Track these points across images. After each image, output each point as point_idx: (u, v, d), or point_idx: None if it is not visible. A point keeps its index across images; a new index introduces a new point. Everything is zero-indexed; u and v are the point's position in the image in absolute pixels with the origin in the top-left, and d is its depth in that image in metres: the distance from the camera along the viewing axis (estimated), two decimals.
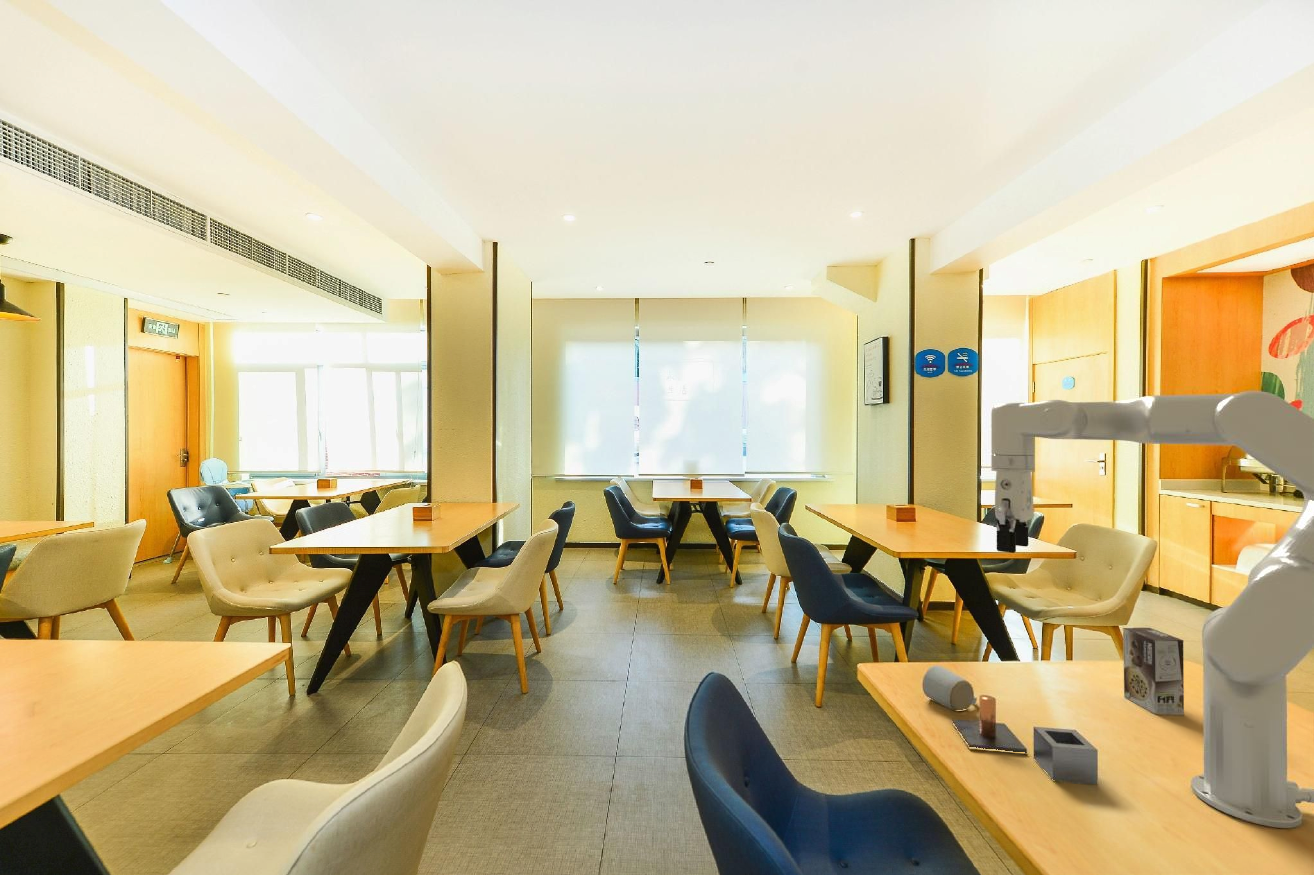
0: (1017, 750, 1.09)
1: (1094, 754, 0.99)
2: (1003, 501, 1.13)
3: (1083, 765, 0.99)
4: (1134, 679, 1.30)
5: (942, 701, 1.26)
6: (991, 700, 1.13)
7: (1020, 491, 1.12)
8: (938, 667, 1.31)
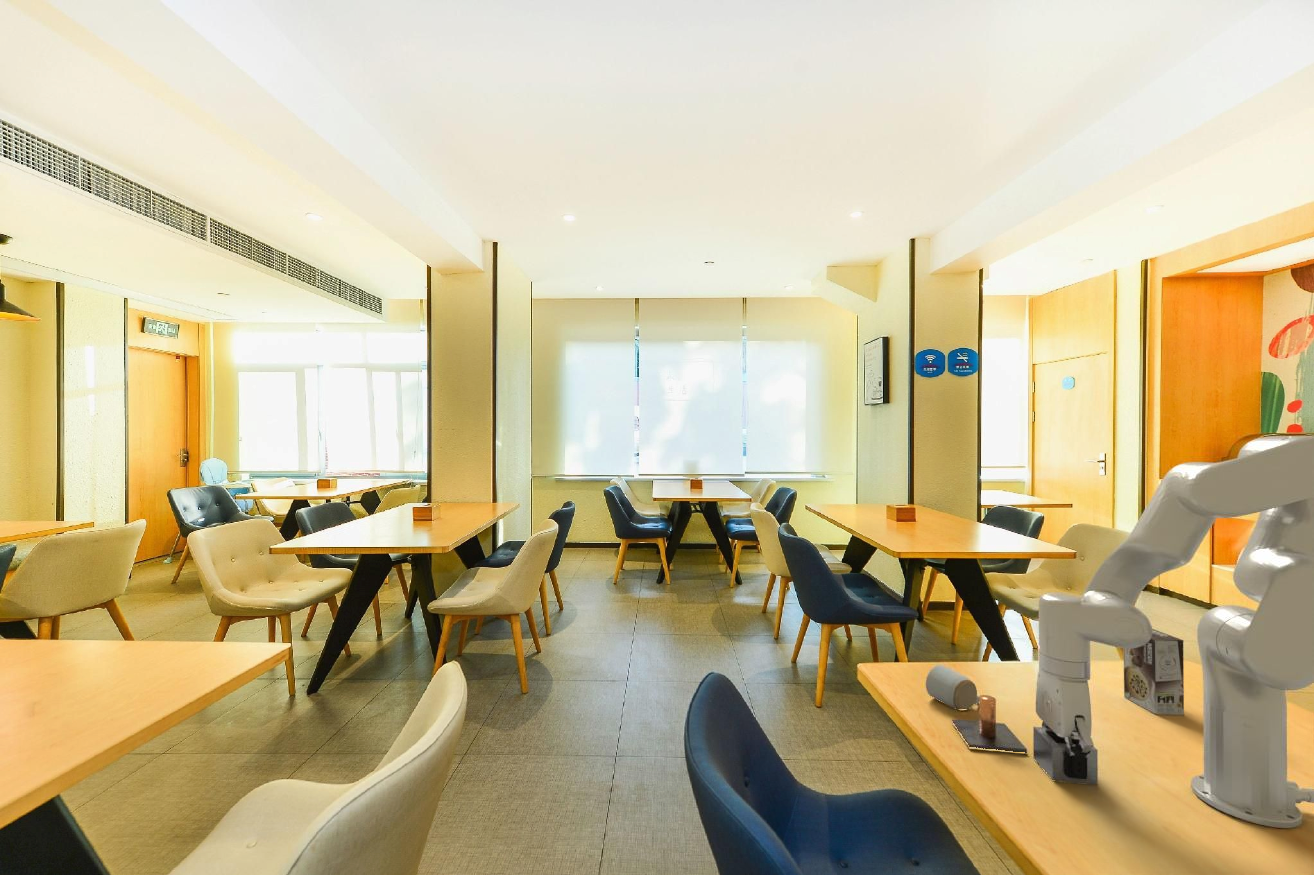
0: (1017, 750, 1.09)
1: (1094, 754, 0.99)
2: None
3: None
4: (1134, 679, 1.30)
5: (946, 700, 1.26)
6: (991, 700, 1.13)
7: None
8: (941, 666, 1.31)
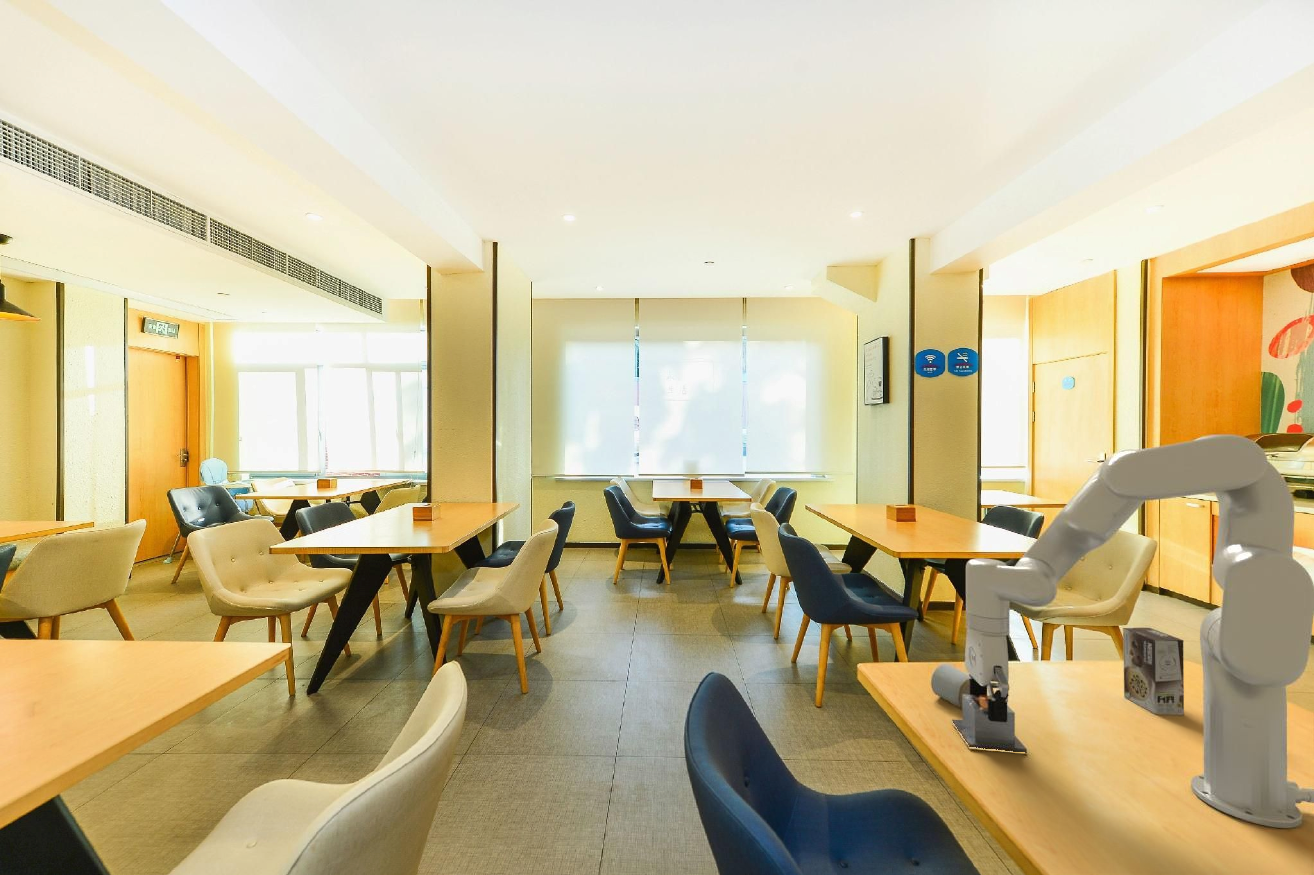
0: (1017, 750, 1.09)
1: (1011, 716, 1.10)
2: None
3: (1002, 726, 1.10)
4: (1134, 679, 1.30)
5: (951, 698, 1.27)
6: None
7: None
8: (947, 665, 1.32)
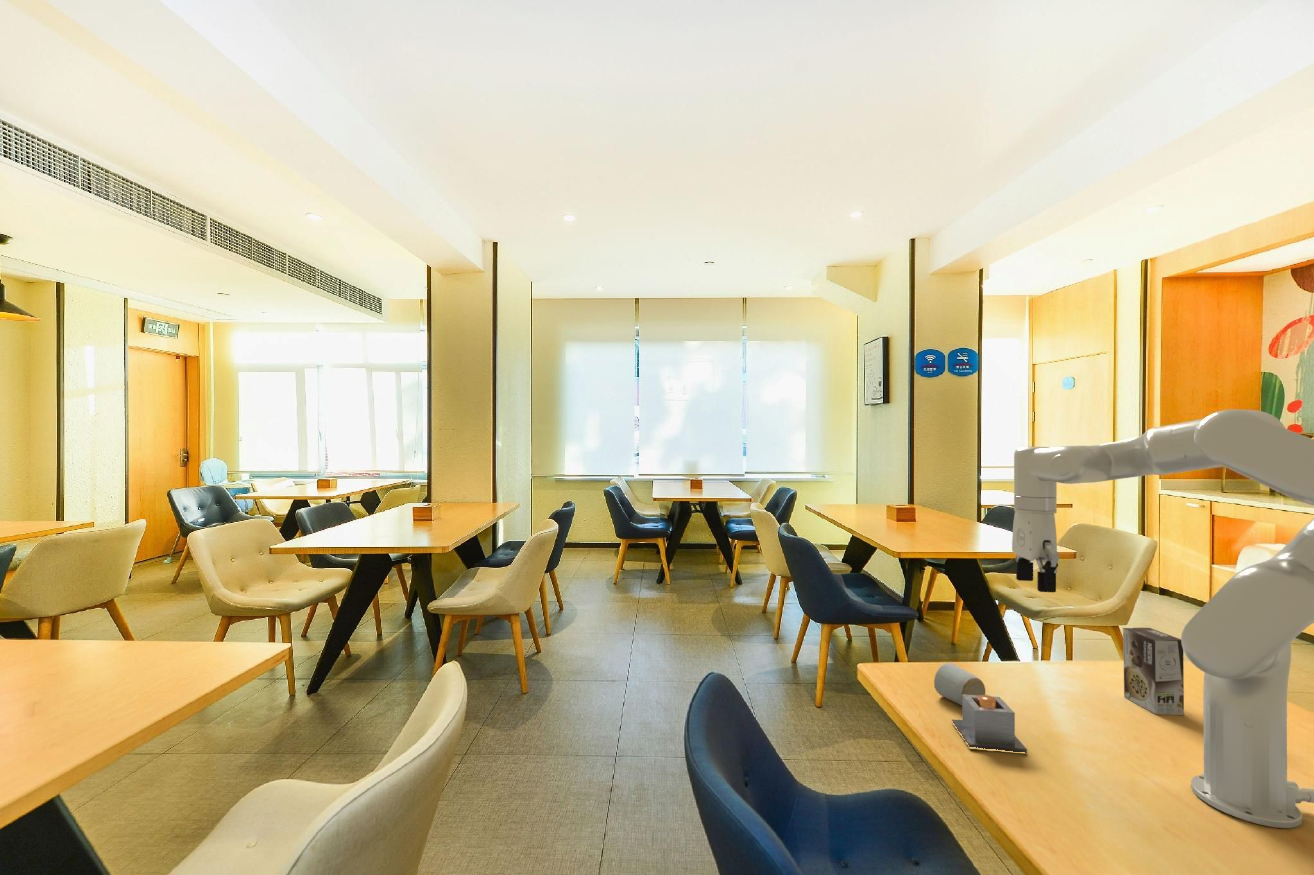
0: (1017, 750, 1.09)
1: (1011, 716, 1.10)
2: None
3: (1002, 726, 1.10)
4: (1134, 679, 1.30)
5: (954, 698, 1.27)
6: (991, 700, 1.13)
7: None
8: (950, 665, 1.32)
